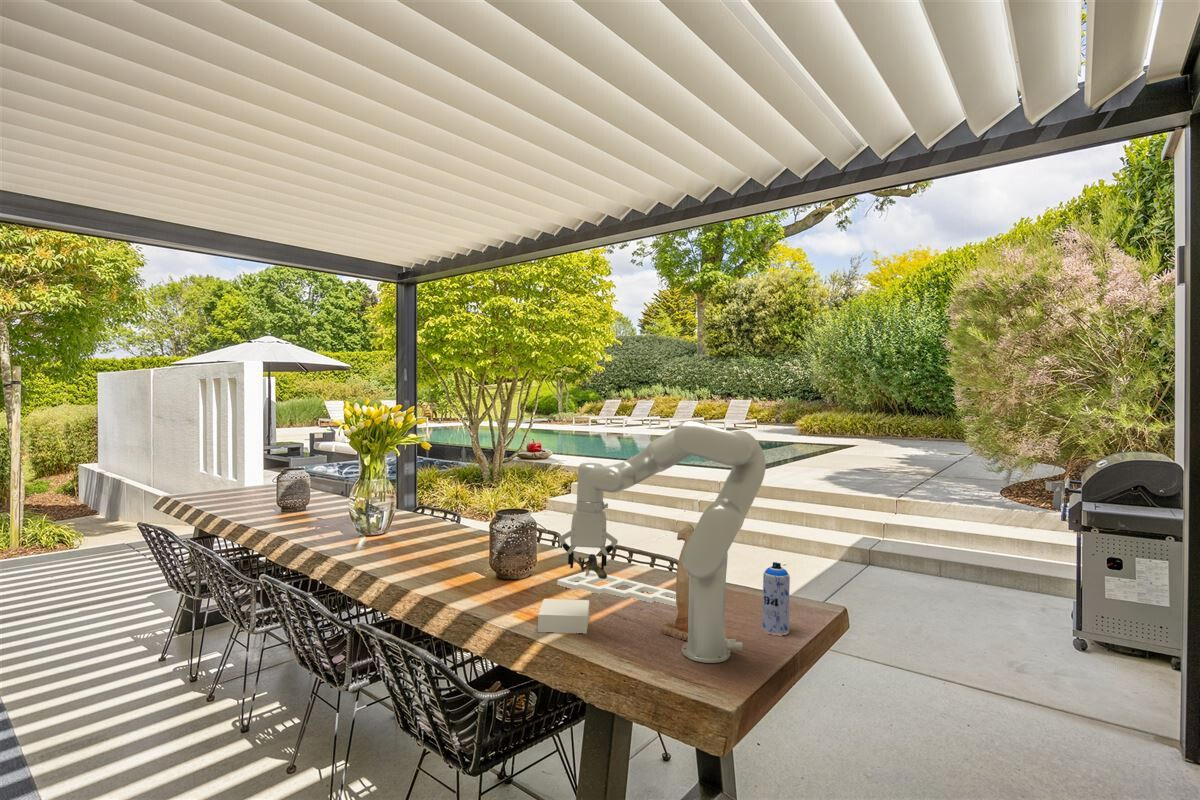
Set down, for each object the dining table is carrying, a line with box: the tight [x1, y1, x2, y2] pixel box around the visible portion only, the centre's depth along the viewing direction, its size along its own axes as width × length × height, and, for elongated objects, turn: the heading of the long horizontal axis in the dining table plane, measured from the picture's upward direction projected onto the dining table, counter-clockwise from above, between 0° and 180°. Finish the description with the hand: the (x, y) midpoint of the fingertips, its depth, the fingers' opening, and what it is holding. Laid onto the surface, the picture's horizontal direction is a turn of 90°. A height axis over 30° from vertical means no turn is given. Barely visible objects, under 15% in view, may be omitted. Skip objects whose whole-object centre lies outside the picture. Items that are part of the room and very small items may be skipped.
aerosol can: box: [761, 561, 791, 634], centre depth 177 cm, size 8×8×20 cm
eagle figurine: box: [573, 553, 608, 579], centre depth 171 cm, size 8×7×9 cm
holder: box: [556, 570, 677, 607], centre depth 208 cm, size 45×18×3 cm, turn 51°
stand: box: [537, 598, 590, 635], centre depth 179 cm, size 14×14×5 cm
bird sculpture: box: [660, 523, 695, 642], centre depth 174 cm, size 11×12×32 cm
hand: (587, 567), depth 172 cm, fingers closed on eagle figurine, 8 cm apart
